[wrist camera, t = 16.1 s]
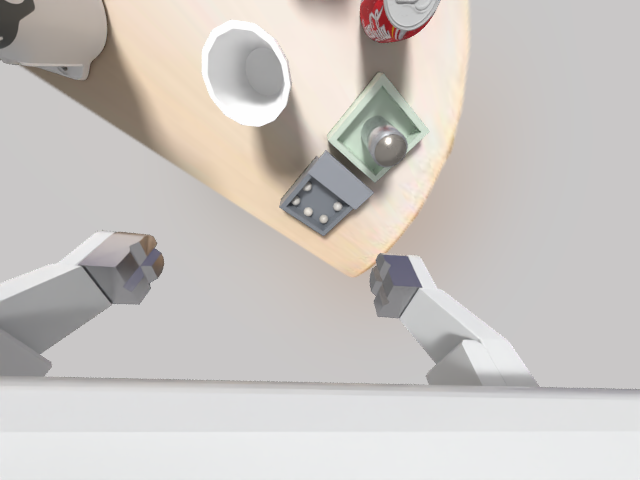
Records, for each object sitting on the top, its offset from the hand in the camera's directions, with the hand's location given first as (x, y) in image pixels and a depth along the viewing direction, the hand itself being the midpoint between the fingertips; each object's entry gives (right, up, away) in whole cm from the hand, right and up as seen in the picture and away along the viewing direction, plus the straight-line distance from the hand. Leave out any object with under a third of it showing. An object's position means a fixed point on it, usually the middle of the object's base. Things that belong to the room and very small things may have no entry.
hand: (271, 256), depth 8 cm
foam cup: (-6, +27, +26) cm, 38 cm away
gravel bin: (+3, +11, +39) cm, 41 cm away
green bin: (+12, +20, +32) cm, 39 cm away
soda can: (+11, +32, +22) cm, 41 cm away
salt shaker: (+12, +20, +31) cm, 38 cm away
